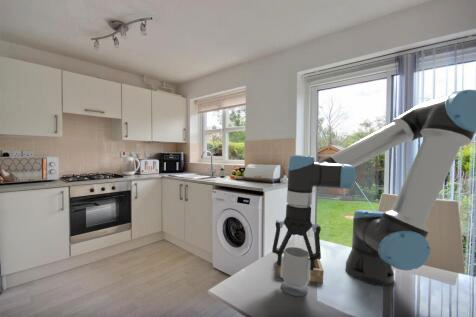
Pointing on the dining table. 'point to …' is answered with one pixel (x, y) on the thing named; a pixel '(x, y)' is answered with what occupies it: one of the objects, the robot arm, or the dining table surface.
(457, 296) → the dining table surface
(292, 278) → the cup
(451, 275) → the dining table surface
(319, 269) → the wooden brackets
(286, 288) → the coaster
